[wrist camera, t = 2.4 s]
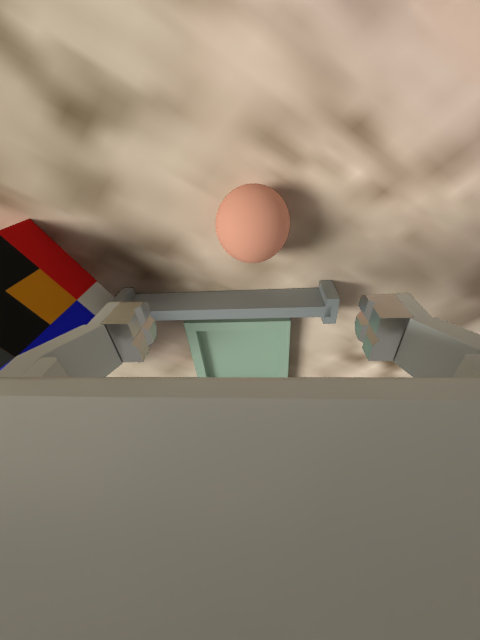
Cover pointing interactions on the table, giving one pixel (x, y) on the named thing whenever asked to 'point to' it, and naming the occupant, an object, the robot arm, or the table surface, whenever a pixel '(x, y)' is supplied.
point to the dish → (240, 347)
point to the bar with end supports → (240, 303)
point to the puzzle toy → (41, 291)
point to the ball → (252, 223)
